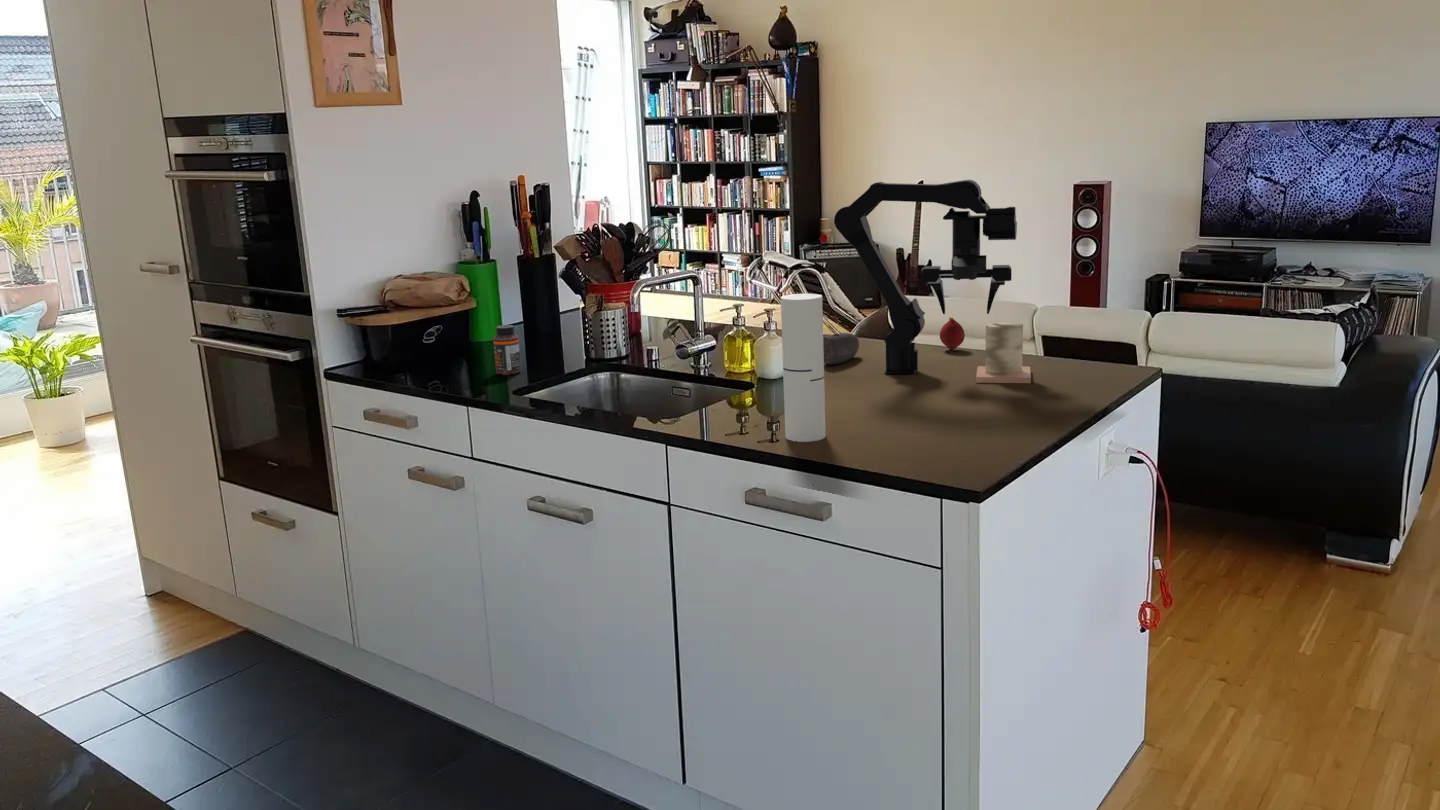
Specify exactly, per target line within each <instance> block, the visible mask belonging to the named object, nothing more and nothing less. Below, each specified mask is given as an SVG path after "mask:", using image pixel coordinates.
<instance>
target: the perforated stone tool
mask: <svg viewBox="0 0 1440 810" xmlns="http://www.w3.org/2000/svg"><path fill="white" fill-rule="evenodd" d="M823 349H824V365H828V364H829V366H831V365H839V364H841V363H845V362H847V361H849V360H851V359H853V358H854V357H855V356H856V354H858V351H859V349H860V341H859V338H858V336H856V335H855V334H852V333H849V332H840V333H834V334H832V335H826V336H823Z"/></svg>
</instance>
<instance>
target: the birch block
mask: <svg viewBox="0 0 1440 810" xmlns="http://www.w3.org/2000/svg"><path fill="white" fill-rule="evenodd" d="M1023 342H1024V324H1023V323H1014V322H1013V323H1012V322H1002V321H999V322H995V323H992V324H988V325H985V360H984V361H985V365H984V366H985V373H992V374H1000V375H1007V376H1009V375H1012V374H1015V373H1018V372H1021V371H1022V366H1023V350H1024V349H1023V347H1024V345H1023V344H1024V343H1023Z"/></svg>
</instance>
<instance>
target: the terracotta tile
mask: <svg viewBox="0 0 1440 810" xmlns="http://www.w3.org/2000/svg"><path fill="white" fill-rule="evenodd" d="M975 383H977V384H1031V383H1032V375H1031V366H1025V365H1022V371H1021V372H1018V373H1015V374H1012V375H1009V376H1007V375H1000V374H992V373H985V365H984V366H981V365H979V366H977V369H976V378H975Z"/></svg>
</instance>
